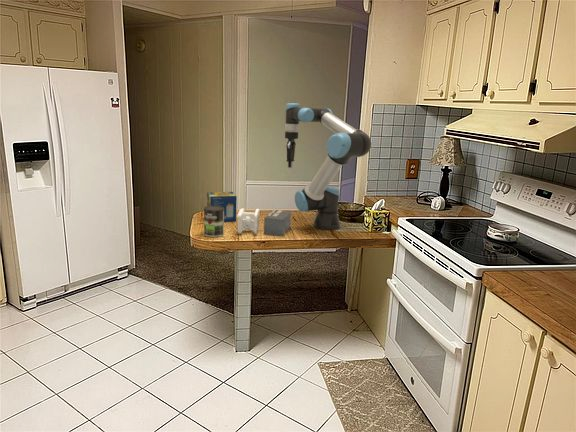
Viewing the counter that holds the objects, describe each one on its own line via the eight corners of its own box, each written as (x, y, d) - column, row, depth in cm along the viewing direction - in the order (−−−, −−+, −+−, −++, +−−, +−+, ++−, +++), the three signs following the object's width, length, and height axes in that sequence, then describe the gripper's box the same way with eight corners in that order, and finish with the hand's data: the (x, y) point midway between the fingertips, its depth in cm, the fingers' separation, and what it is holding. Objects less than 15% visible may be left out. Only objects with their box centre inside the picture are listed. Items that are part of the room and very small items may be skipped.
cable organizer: (256, 236, 229) (257, 214, 226) (236, 235, 229) (236, 213, 226) (259, 228, 243) (259, 207, 240) (240, 227, 243) (240, 206, 240)
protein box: (206, 218, 258) (206, 192, 254) (232, 216, 264) (232, 191, 260) (210, 223, 249) (209, 196, 245) (236, 221, 254) (237, 195, 250)
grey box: (290, 227, 248) (291, 210, 245) (282, 236, 231) (282, 218, 228) (273, 225, 250) (273, 208, 248) (263, 233, 233) (264, 216, 231)
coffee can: (218, 238, 223) (218, 211, 219) (200, 235, 226) (200, 208, 222) (227, 232, 233) (227, 206, 229) (209, 230, 235) (209, 204, 232)
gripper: (288, 130, 256) (286, 170, 262) (282, 131, 243) (280, 173, 249) (300, 131, 254) (298, 171, 260) (295, 132, 242) (293, 175, 248)
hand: (289, 172), depth 255 cm, fingers closed
